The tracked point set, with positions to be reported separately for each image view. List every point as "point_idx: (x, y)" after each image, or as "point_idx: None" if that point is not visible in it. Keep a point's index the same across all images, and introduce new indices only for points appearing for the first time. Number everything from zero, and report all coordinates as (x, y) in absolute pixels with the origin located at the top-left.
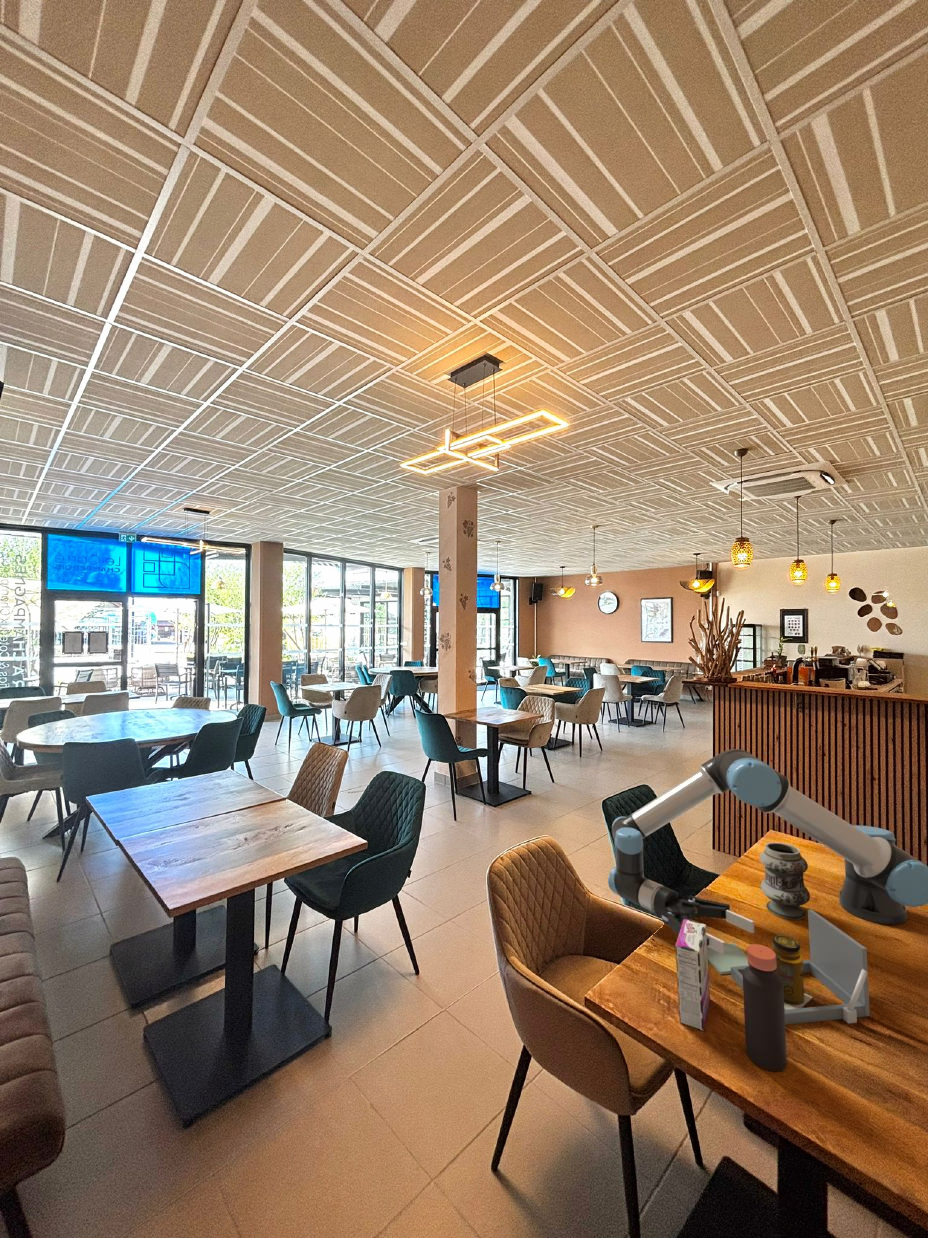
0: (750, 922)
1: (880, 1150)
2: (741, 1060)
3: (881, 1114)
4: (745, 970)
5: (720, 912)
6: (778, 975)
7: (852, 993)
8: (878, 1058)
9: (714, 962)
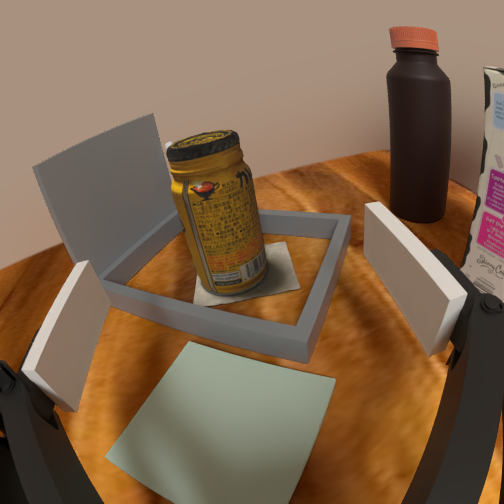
0: (87, 267)
1: (375, 159)
2: (456, 214)
3: (340, 167)
4: (442, 72)
5: (42, 421)
6: (258, 215)
7: (162, 215)
8: (260, 191)
9: (306, 428)
